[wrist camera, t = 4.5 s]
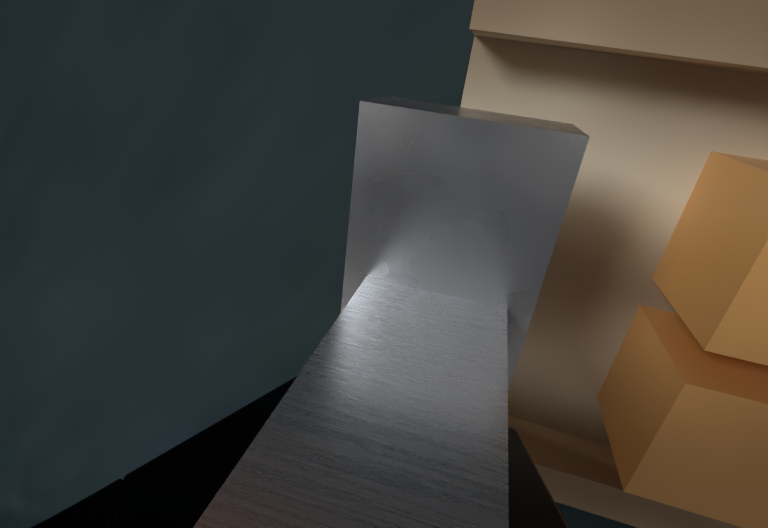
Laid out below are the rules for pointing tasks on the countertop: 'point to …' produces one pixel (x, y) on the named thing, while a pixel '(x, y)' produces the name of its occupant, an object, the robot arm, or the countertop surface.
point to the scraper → (417, 329)
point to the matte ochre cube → (688, 422)
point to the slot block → (614, 194)
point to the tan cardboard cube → (722, 259)
